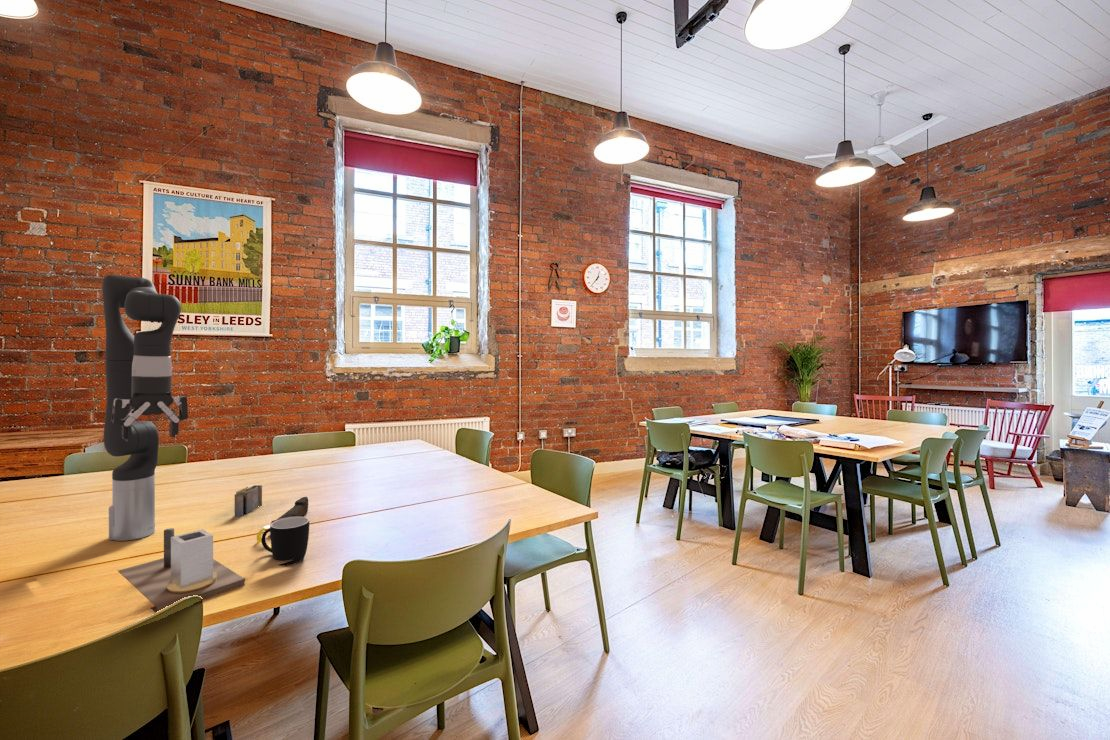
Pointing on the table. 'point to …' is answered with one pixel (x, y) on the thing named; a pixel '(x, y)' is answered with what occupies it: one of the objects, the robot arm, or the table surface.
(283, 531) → the mug
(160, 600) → the walnut stand board
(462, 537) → the table surface
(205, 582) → the disc
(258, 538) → the watch
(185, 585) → the open-top grey box
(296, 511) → the hand tool
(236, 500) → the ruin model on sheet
